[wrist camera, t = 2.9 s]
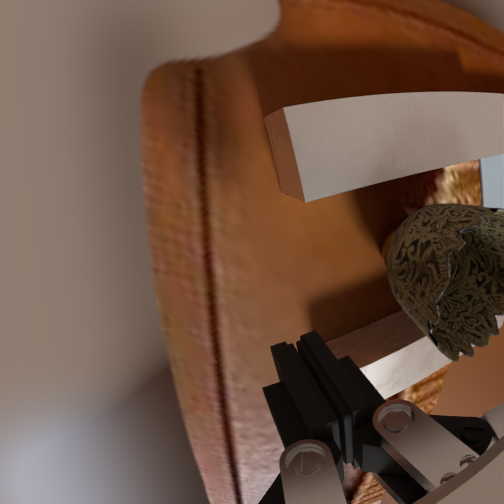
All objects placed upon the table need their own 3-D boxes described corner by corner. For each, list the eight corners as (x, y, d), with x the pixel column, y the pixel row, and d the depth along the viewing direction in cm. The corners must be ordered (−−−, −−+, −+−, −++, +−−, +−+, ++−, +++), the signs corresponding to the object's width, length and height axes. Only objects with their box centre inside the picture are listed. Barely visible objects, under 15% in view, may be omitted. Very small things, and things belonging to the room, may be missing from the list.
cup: (446, 261, 20) (527, 305, 12) (370, 317, 20) (443, 388, 12) (423, 167, 17) (525, 184, 10) (333, 219, 17) (427, 267, 9)
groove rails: (468, 96, 16) (503, 93, 13) (476, 308, 22) (502, 325, 19) (263, 117, 15) (283, 107, 11) (320, 387, 21) (339, 419, 17)
